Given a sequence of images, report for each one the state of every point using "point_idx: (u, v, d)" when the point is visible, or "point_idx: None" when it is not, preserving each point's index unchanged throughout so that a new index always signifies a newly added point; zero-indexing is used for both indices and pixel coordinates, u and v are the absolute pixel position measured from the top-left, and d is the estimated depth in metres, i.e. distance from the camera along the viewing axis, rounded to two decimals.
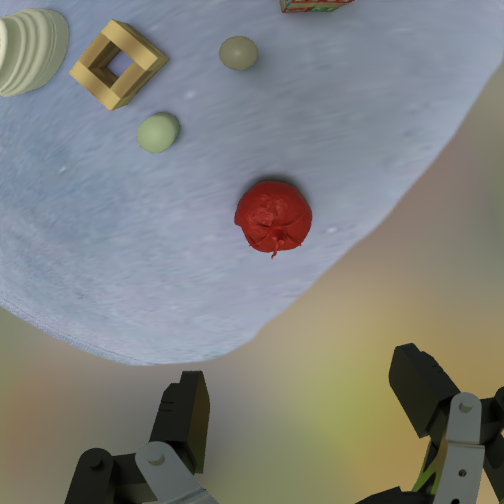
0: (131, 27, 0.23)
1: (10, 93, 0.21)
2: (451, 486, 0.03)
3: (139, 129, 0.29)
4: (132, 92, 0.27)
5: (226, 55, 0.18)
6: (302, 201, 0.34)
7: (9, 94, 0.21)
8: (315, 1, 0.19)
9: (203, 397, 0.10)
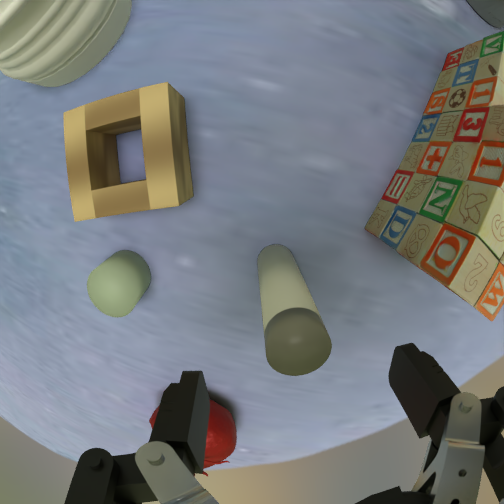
0: (183, 108, 0.19)
1: (1, 68, 0.12)
2: (451, 486, 0.03)
3: (97, 270, 0.19)
4: None
5: (280, 346, 0.12)
6: (233, 442, 0.25)
7: (0, 68, 0.12)
8: None
9: (203, 397, 0.10)
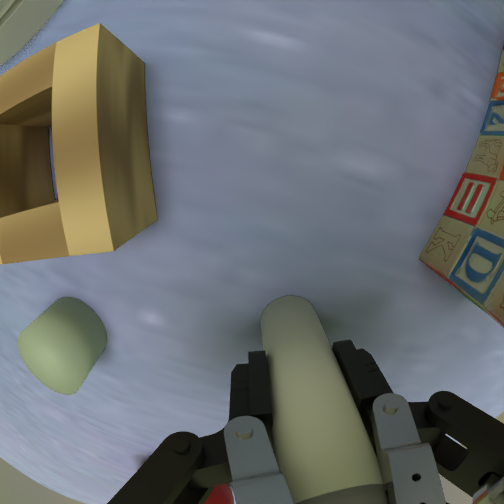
0: (140, 77, 0.10)
1: None
2: (410, 493, 0.04)
3: (25, 334, 0.11)
4: None
5: None
6: None
7: None
8: None
9: None
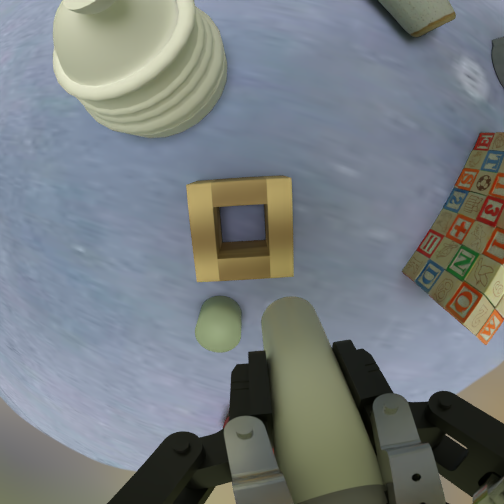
0: None
1: (95, 115, 0.18)
2: (410, 493, 0.04)
3: (208, 318, 0.26)
4: None
5: None
6: None
7: (92, 114, 0.18)
8: None
9: None
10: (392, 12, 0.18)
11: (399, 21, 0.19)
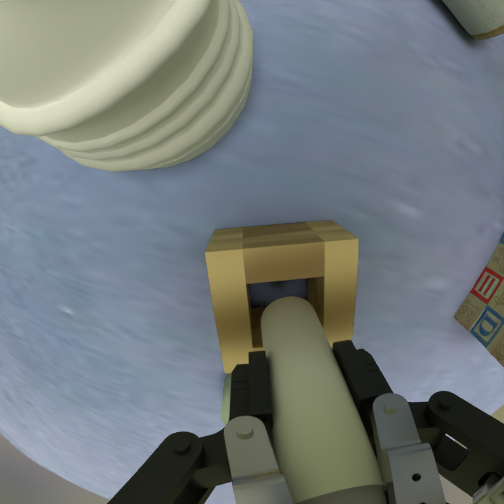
0: None
1: None
2: (410, 493, 0.04)
3: None
4: None
5: None
6: None
7: None
8: None
9: None
10: (454, 7, 0.11)
11: (462, 18, 0.12)
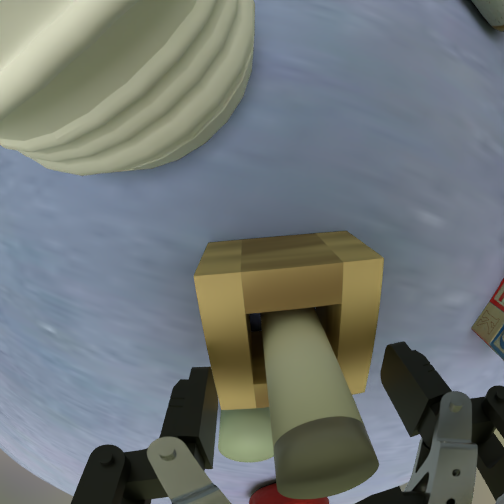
0: None
1: None
2: (445, 486, 0.03)
3: (236, 435, 0.16)
4: None
5: (300, 480, 0.06)
6: None
7: None
8: None
9: (212, 393, 0.10)
10: None
11: (485, 8, 0.09)
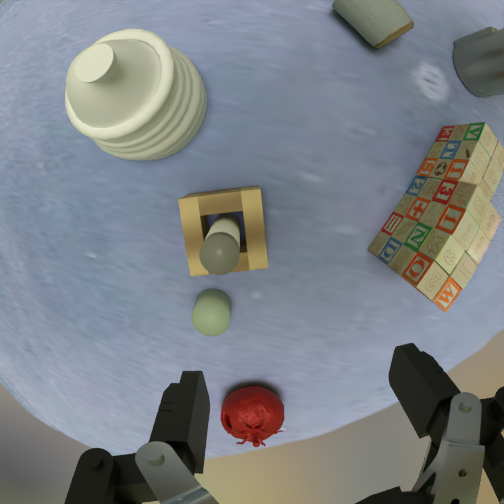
0: None
1: (101, 146, 0.24)
2: (451, 486, 0.03)
3: (201, 306, 0.31)
4: None
5: (207, 251, 0.21)
6: (283, 417, 0.36)
7: (99, 144, 0.24)
8: None
9: (203, 397, 0.10)
10: (356, 28, 0.24)
11: (363, 36, 0.24)
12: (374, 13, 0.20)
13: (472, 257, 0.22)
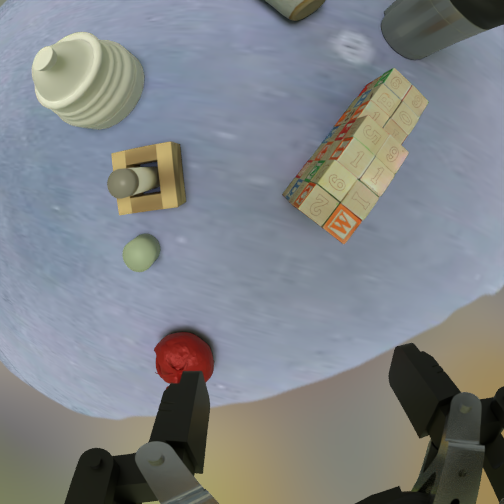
0: (179, 151, 0.35)
1: (61, 117, 0.28)
2: (451, 486, 0.03)
3: (129, 243, 0.36)
4: None
5: (112, 180, 0.25)
6: (210, 365, 0.41)
7: (60, 117, 0.28)
8: None
9: (203, 397, 0.10)
10: None
11: (279, 11, 0.28)
12: None
13: (369, 187, 0.26)
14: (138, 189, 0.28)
